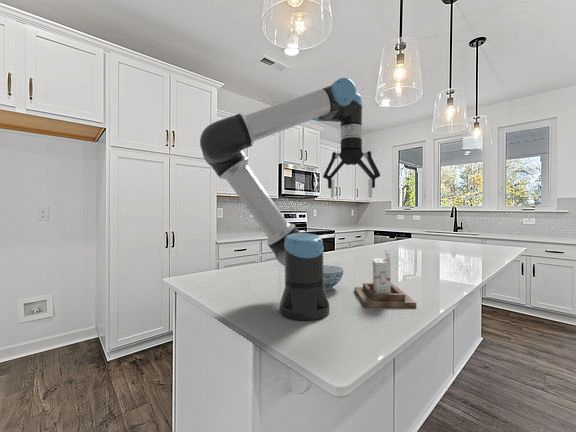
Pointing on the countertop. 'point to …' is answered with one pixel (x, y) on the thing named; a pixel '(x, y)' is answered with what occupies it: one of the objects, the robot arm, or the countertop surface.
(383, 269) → the ink cartridge box
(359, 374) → the countertop surface
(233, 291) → the countertop surface
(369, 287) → the walnut bay board
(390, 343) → the countertop surface
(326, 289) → the chinaware
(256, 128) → the robot arm
